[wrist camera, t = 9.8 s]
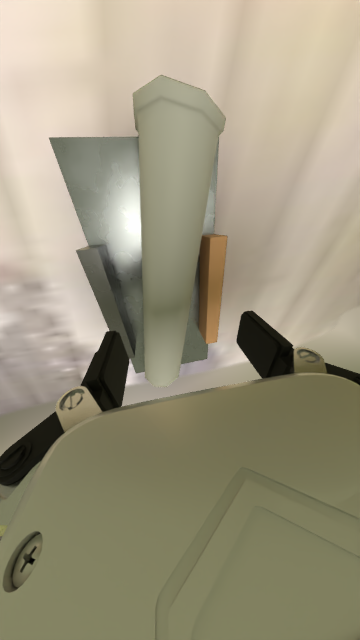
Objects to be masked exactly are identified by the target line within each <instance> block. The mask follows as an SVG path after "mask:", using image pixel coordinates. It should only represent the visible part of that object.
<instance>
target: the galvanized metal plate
mask: <svg viewBox="0 0 360 640" xmlns="http://www.w3.org/2000/svg"><path fill="white" fill-rule="evenodd" d="M49 140H50V142H51V145H52V148H53V150H54V153H55V156H56V158H57V161H58V164H59V167H60V169H61V172H62V175H63V177H64V180H65V183H66V185H67V188H68V191H69V194H70V196H71V199H72V202H73V204H74V207H75V210H76V213H77V215H78V218H79V221H80V223H81V226H82V229H83V231H84V234H85V237H86V240H87V242H88V245H89V246H87V247H84V248H81V249H79V250H76V252H77V254H78V257H79V259H80V261H81V264H82V266H83V268H84V271H85V273H86V276H87V278H88V280H89V283H90V285H91V287H92V290H93V292H94V295H95V297H96V299H97V302H98V304H99V306H100V309H101V311H102V314H103V316H104V318H105V321H106V323H107V326H108V328H109V330H110V331H116V332H119V333H120V336H121V339H122V341H123V344H124V347H125V349H126V352H127V355H128V357H129V359H130V358H131V361H132V364H133V367H134V369H135V372H136V373H140V372H145V356H144V319H143V281H142V244H141V207H140V169H139V137H59V138H49ZM218 145H219V137H218V142H217V147H216V153H215V159H214V165H213V171H212V177H211V183H210V189H209V195H208V201H207V208H206V214H205V220H204V226H203V232H202V235H211V234H214V221H215V202H216V183H217V164H218ZM199 284H200V250H199V256H198V262H197V268H196V274H195V280H194V286H193V292H192V298H191V304H190V311H189V317H188V323H187V329H186V335H185V341H184V347H183V353H182V359H181V364H184V363H189V362H194V361H199V360H204V359H207V353H208V344H206V343H205V341H204V339H203V337H202V335H201V333H200V331H199Z"/></svg>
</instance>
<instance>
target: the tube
mask: <svg viewBox="0 0 360 640" xmlns="http://www.w3.org/2000/svg"><path fill="white" fill-rule="evenodd" d="M133 107H134V118H135V128H136V130H137V131H138V133H139V169H140V207H141V244H142V281H143V319H144V356H145V378H146V379H147V380H148V381H149V382H150V383H151V384H152V385H153V386H154V387H167V386H168V385H170V384H171V383H172V382H173V381H174V380H175V379H176V378H178V377H179V371H180V365H181V359H182V353H183V347H184V341H185V335H186V329H187V323H188V317H189V311H190V304H191V298H192V292H193V286H194V280H195V274H196V268H197V262H198V256H199V250H200V244H201V238H202V232H203V226H204V220H205V214H206V208H207V201H208V195H209V189H210V183H211V177H212V171H213V165H214V159H215V153H216V147H217V142H218V137H219V135H220V134H221V133H222V132H223V130H224V125H225V120H226V118H225V116H224V115H223V113H222V112H221V111H220V110H219V108H218V107H217V106H216V104H215V103H214V102H213V100H212V99H211V98H210V97H209V95H208V94H207V93H206V91H205V90H202V89H199V88H196V87H194V86H191V85H188V84H185V83H183V82H180V81H177V80H174V79H171V78H169V77H166V76H163V75H160V76H158V77H157V78H155V79H154V80H152V81H151V82H149V83H148V84H146V85H145V86H143V87H142V88H140V89H139V90H137V91H136V92H134V93H133Z"/></svg>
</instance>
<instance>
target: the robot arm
mask: <svg viewBox="0 0 360 640" xmlns="http://www.w3.org/2000/svg"><path fill="white" fill-rule="evenodd" d="M237 344H238V345H239V347H240V348H241V350H242V351H243V352H244V354H245V355H246V357H247V358H248V359H249V361H250V362H251V364H252V365H253V366H254V368H255V369H256V371H257V372H258V373H259V375H260V376H261V377H262V379H258V380H253V381H248V382H243V383H238V384H232V385H227V386H222V387H216V388H211V389H206V390H201V391H196V392H190V393H185V394H180V395H176V396H170V397H166V398H160V399H155V400H150V401H146V402H141V403H136V404H131V405H127V406H123V407H121V406H122V401H123V395H124V389H125V383H126V377H127V371H128V366H129V357H128V355H127V352H126V349H125V347H124V344H123V341H122V339H121V336H120V333H119V332H116V331H108V332H106V334H105V336H104V339H103V341H102V343H101V346H100V348H99V350H98V352H96V353H95V355H94V357H93V359H92V361H91V364H90V366H89V368H88V370H87V373H86V375H85V377H84V379H83V381H82V384H81V386H77V387H74V388H72V389H70V390H68V391H67V392H66V393H64V394H63V395H62V396H61V397H60V399H59V400H58V402H57V404H56V407H55V408H56V411H55V412H54V413H53V414H52V415H50V416H49V417H48V418H46V419H45V420H44V421H43V422H41V423H40V424H39V425H38V426H36V427H35V428H34V429H32V430H31V431H30V432H28V433H27V434H26V435H25V436H23V437H22V438H21V439H20V440H18V441H17V442H16V443H15V444H13V445H12V446H11V447H9V448H8V449H7V450H6V451H5V452H4V453H3V454H2V456H1V457H0V640H360V374H358V373H355V372H352V371H349V370H346V369H343V368H340V367H337V366H334V365H331V364H328V363H325V362H324V359H323V358H322V356H321V355H320V354H318V353H317V352H315V351H313V350H311V349H308V348H303V347H300V348H296V349H293V348H292V347H293V345H292V344H291V343H290V342H289V341H288V340H286V339H285V338H284V337H283V336H282V335H280V334H279V333H278V332H277V331H276V330H275V329H273V328H272V327H271V326H270V325H269V324H268V323H266V322H265V321H264V320H263V319H262V318H261V317H259V316H258V315H257V314H256V313H255V312H253V311H246V312H244V313H243V314H242V315H241V320H240V325H239V330H238V335H237Z"/></svg>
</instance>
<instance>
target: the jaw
mask: <svg viewBox="0 0 360 640" xmlns="http://www.w3.org/2000/svg"><path fill="white" fill-rule="evenodd" d="M226 245H227V236H224V235H216V234H211V235H202V238H201V244H200V284H199V331H200V333H201V335H202V337H203V339H204V341H205V343H206V344H209V343H214V342H217V337H218V326H219V316H220V306H221V296H222V286H223V276H224V265H225V255H226Z"/></svg>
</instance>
